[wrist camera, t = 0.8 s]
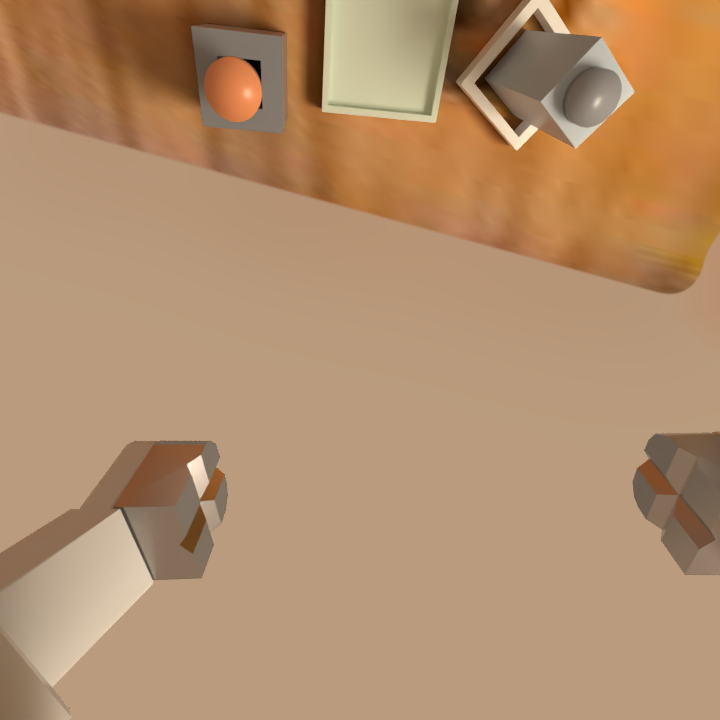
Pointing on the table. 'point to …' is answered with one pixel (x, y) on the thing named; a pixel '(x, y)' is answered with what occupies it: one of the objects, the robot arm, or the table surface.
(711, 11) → the table surface
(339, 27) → the tray
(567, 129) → the cartridge
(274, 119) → the button post
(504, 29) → the socket collar
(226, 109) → the button
